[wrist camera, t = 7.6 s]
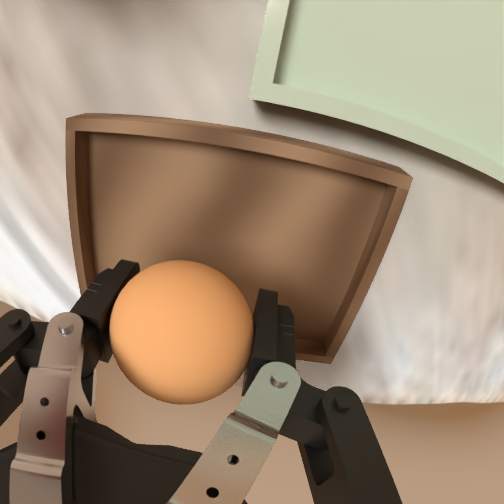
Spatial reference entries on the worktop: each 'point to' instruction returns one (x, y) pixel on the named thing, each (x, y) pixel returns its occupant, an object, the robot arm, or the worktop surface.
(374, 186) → the tray
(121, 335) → the ball
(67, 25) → the worktop surface
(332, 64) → the dish
